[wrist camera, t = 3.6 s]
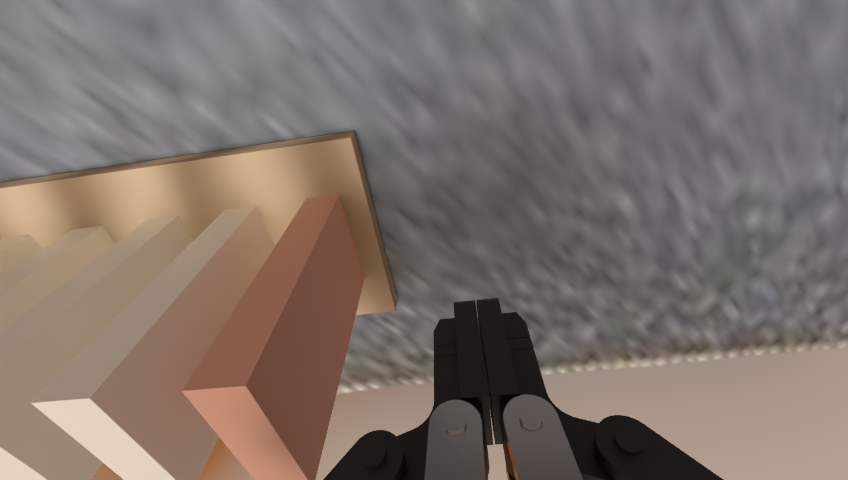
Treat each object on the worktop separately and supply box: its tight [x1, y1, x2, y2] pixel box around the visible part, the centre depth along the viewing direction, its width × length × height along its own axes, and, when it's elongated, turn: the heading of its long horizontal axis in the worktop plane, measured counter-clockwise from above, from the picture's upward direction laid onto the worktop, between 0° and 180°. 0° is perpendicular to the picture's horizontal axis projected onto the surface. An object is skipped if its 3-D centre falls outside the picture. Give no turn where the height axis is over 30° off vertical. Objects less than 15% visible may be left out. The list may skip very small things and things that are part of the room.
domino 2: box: [0, 216, 193, 480], centre depth 15 cm, size 2×5×10 cm, turn 8°
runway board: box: [0, 131, 397, 315], centre depth 20 cm, size 28×10×1 cm, turn 99°
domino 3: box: [31, 205, 275, 480], centre depth 14 cm, size 2×5×10 cm, turn 8°
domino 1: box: [0, 225, 116, 332], centre depth 15 cm, size 2×5×10 cm, turn 9°
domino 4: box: [182, 195, 364, 480], centre depth 14 cm, size 2×5×10 cm, turn 8°
